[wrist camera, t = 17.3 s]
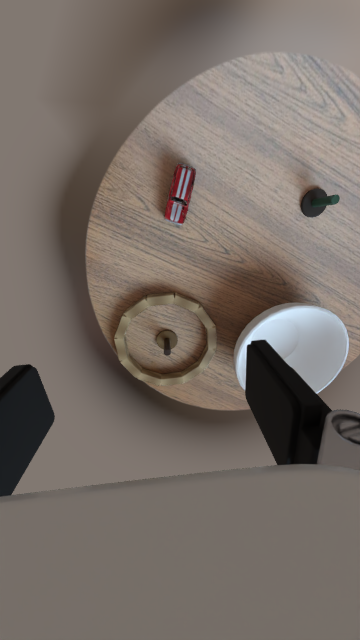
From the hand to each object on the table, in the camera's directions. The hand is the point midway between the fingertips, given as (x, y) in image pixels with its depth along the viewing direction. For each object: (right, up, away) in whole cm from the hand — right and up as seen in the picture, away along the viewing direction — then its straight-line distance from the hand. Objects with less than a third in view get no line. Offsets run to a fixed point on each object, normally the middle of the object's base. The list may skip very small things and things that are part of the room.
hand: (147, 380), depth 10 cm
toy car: (+2, +22, +24) cm, 33 cm away
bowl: (+20, -1, +35) cm, 40 cm away
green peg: (+23, +21, +26) cm, 40 cm away
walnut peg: (-1, -1, +33) cm, 33 cm away
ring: (-1, -1, +33) cm, 33 cm away
